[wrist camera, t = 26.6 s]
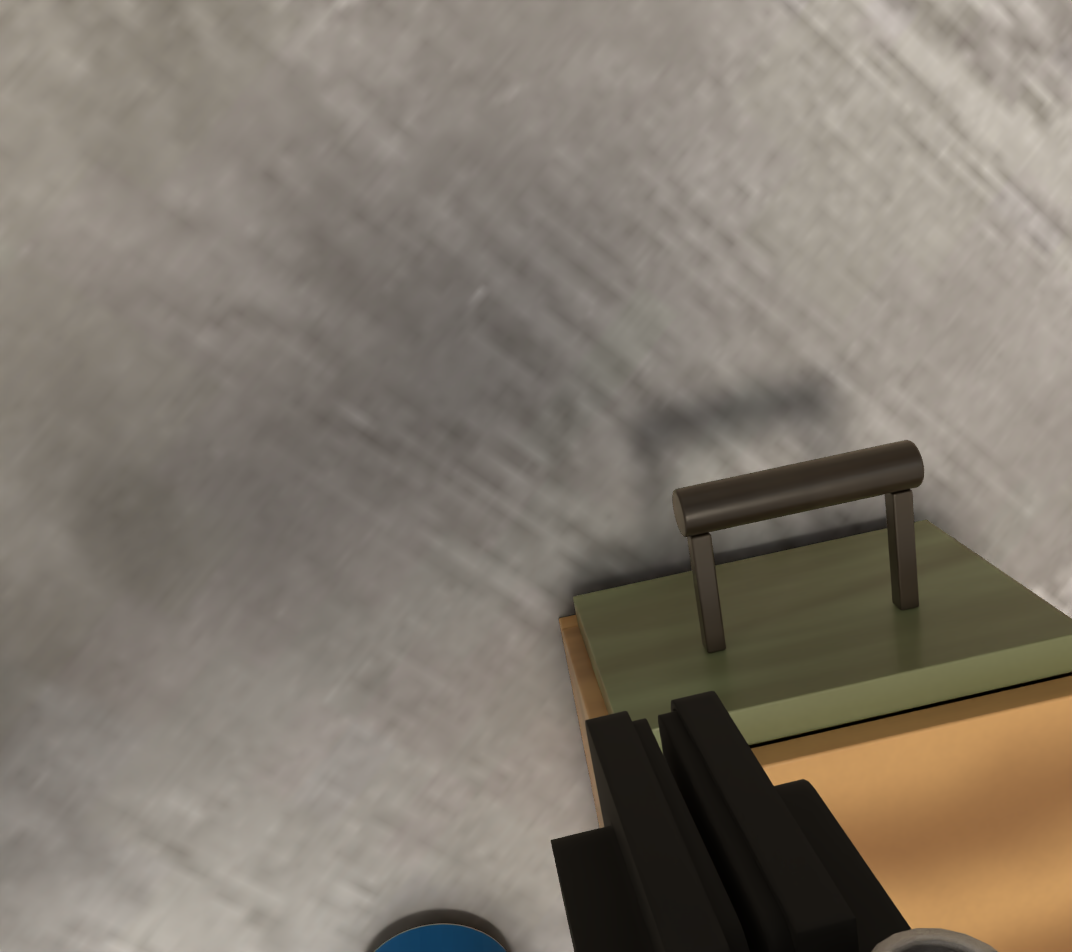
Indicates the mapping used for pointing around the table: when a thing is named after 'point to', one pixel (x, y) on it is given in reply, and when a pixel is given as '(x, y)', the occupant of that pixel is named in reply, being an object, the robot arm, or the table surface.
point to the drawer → (819, 611)
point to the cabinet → (938, 803)
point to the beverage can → (441, 940)
